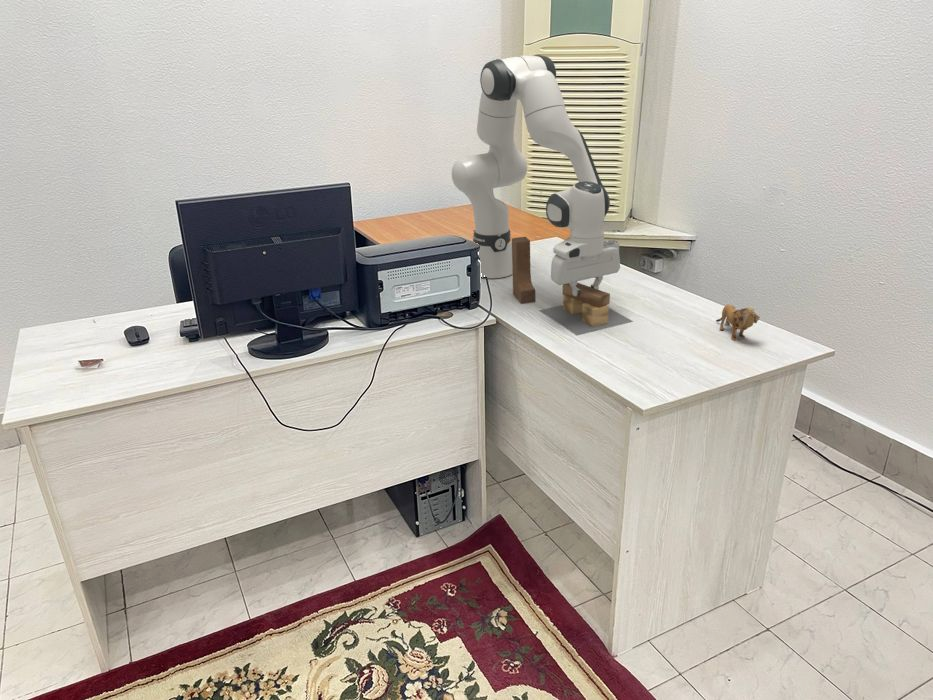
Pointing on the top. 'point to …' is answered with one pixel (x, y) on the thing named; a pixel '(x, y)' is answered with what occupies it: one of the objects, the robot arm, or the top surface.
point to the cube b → (594, 314)
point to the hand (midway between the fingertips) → (585, 293)
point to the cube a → (572, 305)
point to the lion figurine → (738, 319)
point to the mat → (576, 323)
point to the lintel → (588, 295)
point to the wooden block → (522, 271)
